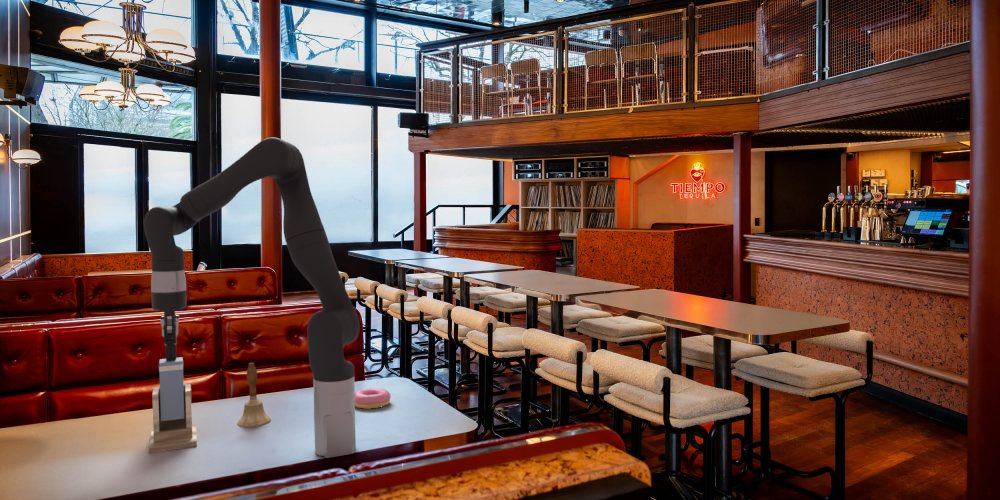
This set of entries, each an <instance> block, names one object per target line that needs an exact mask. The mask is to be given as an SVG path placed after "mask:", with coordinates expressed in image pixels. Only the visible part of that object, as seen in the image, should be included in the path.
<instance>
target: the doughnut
mask: <svg viewBox="0 0 1000 500" xmlns="http://www.w3.org/2000/svg"><path fill="white" fill-rule="evenodd" d="M390 401H391V393H390V392H389V391H388V390H387V389H385V388H377V387H376V388H375V387H372V388H371V387H370V388H364V389H360V390H358V391H355V408H358V409H362V408H363V409H364V410H372V409H371V408H376V409H379V408H378V407H381V406H384V405H386V406H387V405H389V403H390ZM384 407H385V406H384ZM381 408H382V407H381ZM363 409H362V410H363Z"/></svg>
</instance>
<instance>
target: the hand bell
mask: <svg viewBox="0 0 1000 500" xmlns="http://www.w3.org/2000/svg"><path fill="white" fill-rule="evenodd" d="M246 379H247V383H248V386H249V399H248V401H246V402H245V403H244V407H243V408H244V409H243V414H242V416H241V418H240V419H238V421H237V425H238V427H243V428H252V427H260V426H263V425H266V424H267V425H268V423H270V422H271V417H270V416H269V415H267V413H266V411H265V409H264V404H263V401H262V400H261V399H258V398H257V397H258V396H257V387H256V386H257V381H258V371H257V368H256V365H255V362H249V363H248V367H247V369H246Z"/></svg>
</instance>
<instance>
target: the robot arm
mask: <svg viewBox="0 0 1000 500" xmlns="http://www.w3.org/2000/svg"><path fill="white" fill-rule="evenodd" d="M268 177H269V178H272V179H274V182H275V184H276V186H277V189H278V191H279V194H280V196H281V200H282V204H283V236H284V240H285V243H286V246H287V249H288V253H289V256H290V257H291V261H292V262H293V264H294V266H295V267H296V268H297V270H298V271H299V272H300V273H301V275H302V276H303V277H304V278H305V279H306V280H307V281H308V283H309V284H310V285H311V286H312V287H313V289H314V290H315V292H316V294H317V295H318V296H317V297H318V298H319V300H320V301H319V302H320V304H321V306H322V309H321V310H319V311H317V312H314V313H313V314H312V315H311V317H310V319H309V320H308V323H307V329H306V330H307V331H306V333H307V349H308V350H307V351H308V360H309V366H310V369H311V371H312V375H313V376H312V377H313V383H312V384H313V423H314V425H313V427H314V429H313V430H314V454H316V455H317V456H322V457H325V459H328V458H329V459H330V458H335V457H341V456H345V455H346V456H348V455H353V454H354V451H356V445H357V443H356V442H357V441H356V406H355V393H356V391H355V387H356V386H355V365H354V364H353V363H352V362H351V361H349V360H346V359H345V355H344V346H346V345H349V344H352V343H353V342H355V341H356V340H357V339H358V337H359V334H360V329H361V328H360V327H361V325H360V320H359V317H358V314H357V312H356V309H355V307H354V305H353V303H352V301H351V298H350V297H349V295H348V291H347V290H346V287H345V284H344V283H343V280H342V278H341V275H340V272H339V269H338V266H337V263H336V261H335V260H336V259H335V258H334V255H333V253H332V252H333V251H332V248H331V244H330V241H329V239H328V236H327V233H326V230H325V227H324V224H323V223H322V219H321V217H320V213H319V211H318V208H317V205H316V203H315V200H314V198H313V195H312V191H311V187H310V183H309V182H310V181H309V178H308V174H307V169H306V165H305V160H304V157H303V155H302V153H301V151H300V149H299V148H298V147H296V145H294V144H293V143H290V142H289V141H286V140H284V139H281V138H279V137H267V138H265V139H262V140H261V141H259V142H258V143H257V144H255V145H254V146H253V147H252V148H250V149H249V150H248V151H247V152H245V153H244V154H243V155H242V156H241V157H239V158H238V159H237V160H236V161H234V162H233V163H232V164H231V165H229V166H228V167H227V168H225V169H224V170H222V171H221V172H220V173H218V174H216V175H214V176H213V177H211V178H209V180H206V181H205V182H203V183H201V184H199V185H198V186H196V187H194V188H192V189H191V190H189V191H187V192H186V193H184V194H183V195H182V196H181V197H180V199H179V202H178V203H176V204H174V205H171V206H154V207H152V208H150V209H149V210H148V211H147V212H146V213H145V216H144V220H143V230H144V234H145V238H146V241H147V244H148V248H149V251H150V253H151V278H150V279H151V280H150V284H151V285H150V286H151V287H150V290H151V291H150V292H151V295H150V296H151V308H152V310H154V311H162V312H163V314H164V315H163V316H160V325H161V336H162V337H163V338H164V341H163V343H164V346H165V359H166V360H167V361H174V360H176V358H177V344H178V340H177V339H178V335H179V324H180V315H178V314H177V315H176V311H177V310H183V309H185V308H187V306H188V305H187V302H188V301H187V299H188V298H187V278H186V274H185V273H186V272H185V271H186V270H185V253H184V249H183V248H182V247H180V246H178V245H176V241H175V236H179V235H181V234H184V233H185V232H187V231H189V230H190V229H191V228H193V227H194V226H195V225H197V224H198V223H199V222H200V221H202V220H203V219H204V218H207V217H209V216H210V215H211V214H213V213H215V212H217V211H219V210H221V209H222V208H224V207H225V206H227V205H228V204H229V203H230V202H231V201H233V200H234V198H235V197H236V196H237V195H238V194H239V193H240V192H241V191H242V190H243V189H244V188H246V187H247V186H249V185H251V184H253V183H254V182H257V181H260V180H261V179H265V178H268Z"/></svg>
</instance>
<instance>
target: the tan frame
mask: <svg viewBox="0 0 1000 500" xmlns="http://www.w3.org/2000/svg"><path fill="white" fill-rule="evenodd" d="M183 384H184V418H182V419H175V420H167V421H161V404H160V386H156V387H155V386H154V387H153V389H152V390H153V391H152V395H151V397H152V400H151V401H152V421H153V423H152V425H153V429H151V433H150V439H149V446H148V453H149V454H152V453H158V452H164V451H165V452H166V451H173V450H179V449H186V448H193V447H197V446H198V445H197V444H198V440H197V424H196V423H195V424H194V423H193V417H192V414H193V413H192V411H193V410H192V388H191V387H192V385H191V384H192V383H183Z"/></svg>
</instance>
